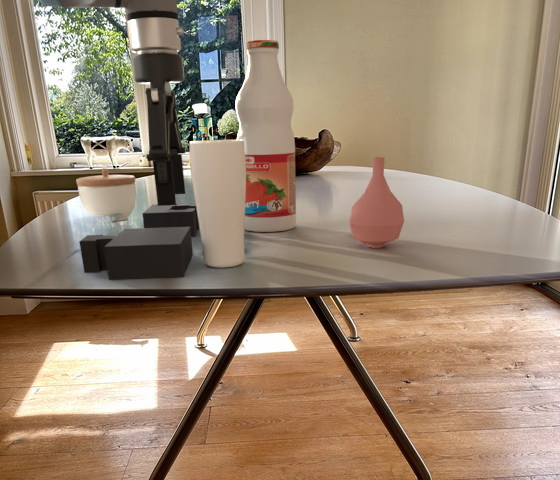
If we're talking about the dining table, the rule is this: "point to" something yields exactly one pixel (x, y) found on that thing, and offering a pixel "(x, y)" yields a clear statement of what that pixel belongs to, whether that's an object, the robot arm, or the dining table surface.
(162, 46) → the robot arm
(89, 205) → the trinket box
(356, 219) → the pink teardrop shaped piece
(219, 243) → the drinking glass
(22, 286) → the dining table surface
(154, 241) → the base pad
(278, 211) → the fruit juice
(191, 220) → the dark grey block
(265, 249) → the dining table surface
